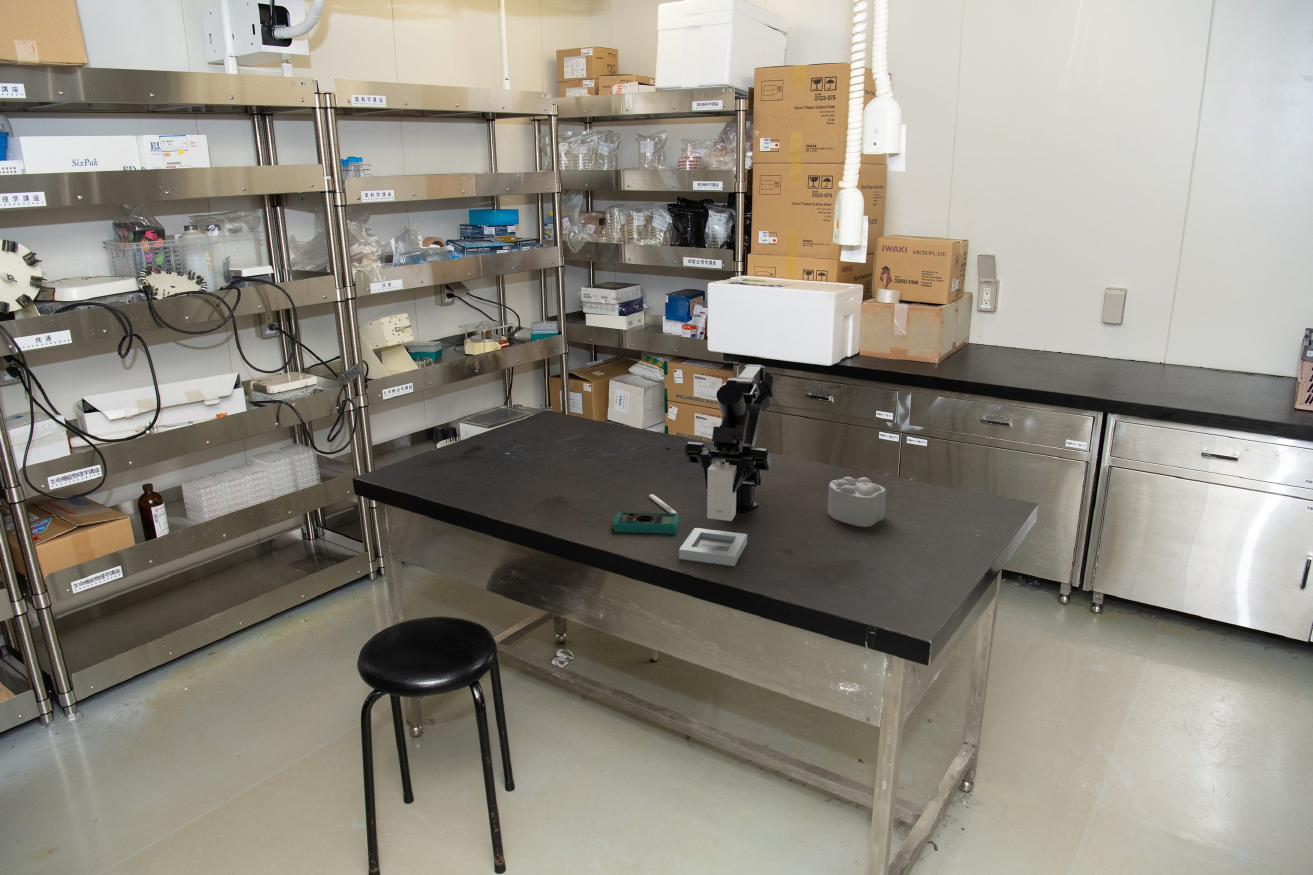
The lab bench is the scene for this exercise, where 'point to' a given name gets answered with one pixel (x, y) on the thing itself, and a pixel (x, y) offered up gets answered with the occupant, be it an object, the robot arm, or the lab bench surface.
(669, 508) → the white rod
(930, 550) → the lab bench surface
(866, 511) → the lumpy-topped squat cylinder
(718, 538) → the outlet plate
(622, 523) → the digital multimeter
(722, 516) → the adapter
